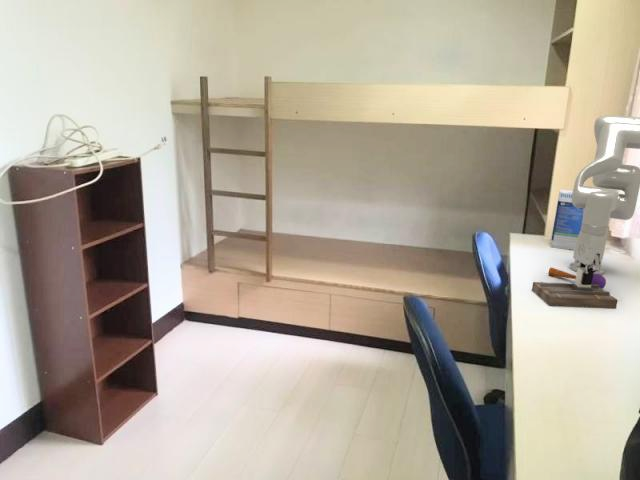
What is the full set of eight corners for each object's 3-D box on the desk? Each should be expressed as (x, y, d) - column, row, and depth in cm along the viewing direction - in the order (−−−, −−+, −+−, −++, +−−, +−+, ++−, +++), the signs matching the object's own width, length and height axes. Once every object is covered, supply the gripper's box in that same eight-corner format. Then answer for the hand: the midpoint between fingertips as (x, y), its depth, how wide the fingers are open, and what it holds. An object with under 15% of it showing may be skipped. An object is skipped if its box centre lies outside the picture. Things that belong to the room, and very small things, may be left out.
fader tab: (571, 287, 178) (575, 266, 176) (585, 288, 178) (589, 266, 176) (577, 292, 173) (581, 270, 171) (592, 292, 174) (596, 271, 172)
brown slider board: (531, 290, 183) (533, 278, 182) (593, 292, 184) (595, 281, 182) (549, 305, 169) (551, 293, 168) (615, 308, 170) (618, 296, 169)
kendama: (555, 264, 201) (610, 275, 186) (552, 279, 202) (606, 292, 186) (548, 263, 197) (603, 275, 182) (545, 279, 198) (599, 292, 182)
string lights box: (581, 247, 240) (592, 192, 233) (581, 252, 233) (593, 195, 226) (550, 243, 245) (559, 189, 238) (549, 247, 238) (559, 191, 231)
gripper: (570, 222, 178) (560, 273, 183) (595, 235, 162) (584, 291, 167) (592, 223, 178) (582, 274, 183) (619, 236, 162) (607, 292, 167)
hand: (583, 282), depth 175 cm, fingers closed on fader tab, 3 cm apart
